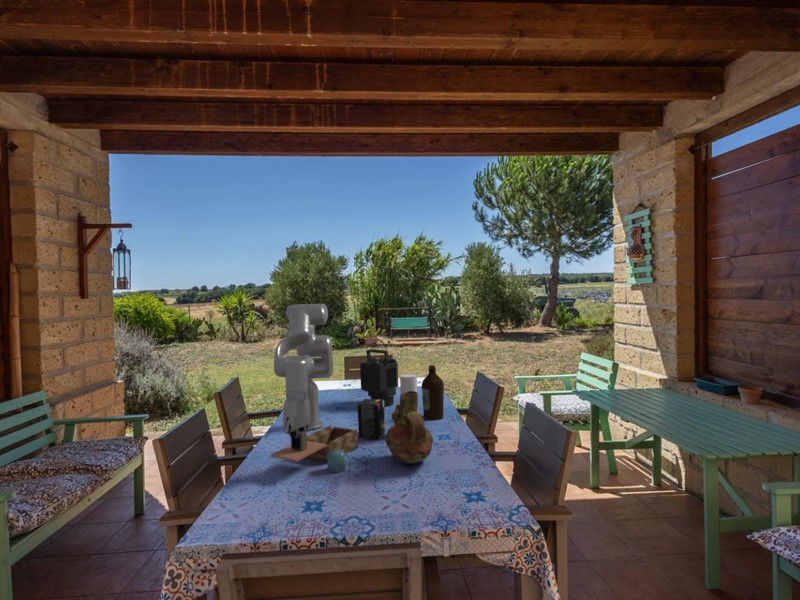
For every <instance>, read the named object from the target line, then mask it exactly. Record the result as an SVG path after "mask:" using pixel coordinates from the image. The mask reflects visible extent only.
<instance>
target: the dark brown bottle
mask: <svg viewBox="0 0 800 600" xmlns="http://www.w3.org/2000/svg"><path fill="white" fill-rule="evenodd" d="M444 387H445V385H444V380H443V379H442V378H441V377H440V376H439V375H438V374H437V369H436V365H435V364H429V365H428V374H427V375H426V376H425V378H424V379H423V380H422V382H421V396H422V397H421V398H422V410H423V418H424V420H427V419H429V420H428V421H438V420H437V419H439V420H442V419H444V400H445V399H444V397H445V392H444V391H445V388H444Z"/></svg>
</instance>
